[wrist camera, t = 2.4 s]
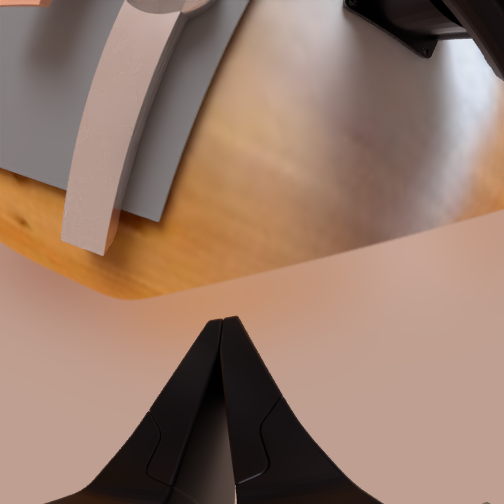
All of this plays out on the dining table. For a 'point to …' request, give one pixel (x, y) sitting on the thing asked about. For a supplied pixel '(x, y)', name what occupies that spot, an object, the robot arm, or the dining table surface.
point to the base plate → (79, 83)
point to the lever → (119, 115)
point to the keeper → (25, 3)
